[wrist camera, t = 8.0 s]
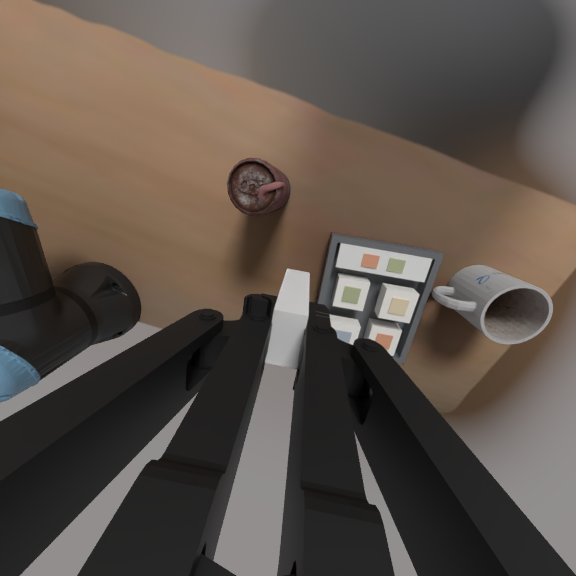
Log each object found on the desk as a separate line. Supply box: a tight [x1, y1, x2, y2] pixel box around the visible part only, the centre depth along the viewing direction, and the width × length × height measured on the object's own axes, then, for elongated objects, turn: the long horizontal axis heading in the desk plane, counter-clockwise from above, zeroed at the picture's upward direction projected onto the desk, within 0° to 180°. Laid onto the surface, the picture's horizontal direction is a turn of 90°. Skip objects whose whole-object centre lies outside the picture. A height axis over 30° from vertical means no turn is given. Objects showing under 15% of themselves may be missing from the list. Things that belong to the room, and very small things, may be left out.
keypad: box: [317, 232, 444, 364], centre depth 45 cm, size 17×20×3 cm
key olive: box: [332, 273, 370, 311], centre depth 44 cm, size 5×5×3 cm
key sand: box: [374, 283, 420, 323], centre depth 42 cm, size 5×5×3 cm
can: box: [227, 158, 290, 216], centre depth 35 cm, size 6×6×14 cm
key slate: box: [329, 314, 361, 345], centre depth 45 cm, size 5×5×3 cm
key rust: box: [363, 318, 402, 356], centre depth 46 cm, size 5×5×3 cm
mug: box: [432, 265, 553, 344], centre depth 39 cm, size 12×9×10 cm
